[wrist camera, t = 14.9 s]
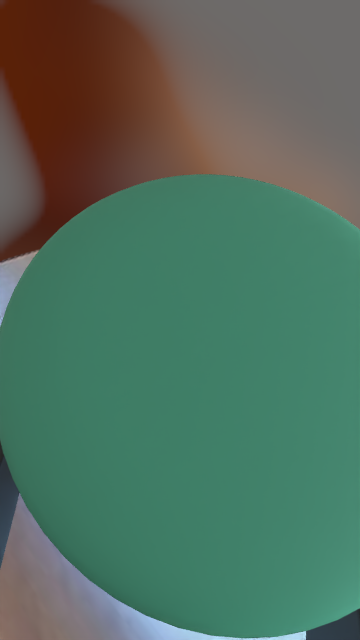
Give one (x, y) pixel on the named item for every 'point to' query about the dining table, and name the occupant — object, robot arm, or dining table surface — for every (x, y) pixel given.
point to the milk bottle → (194, 403)
